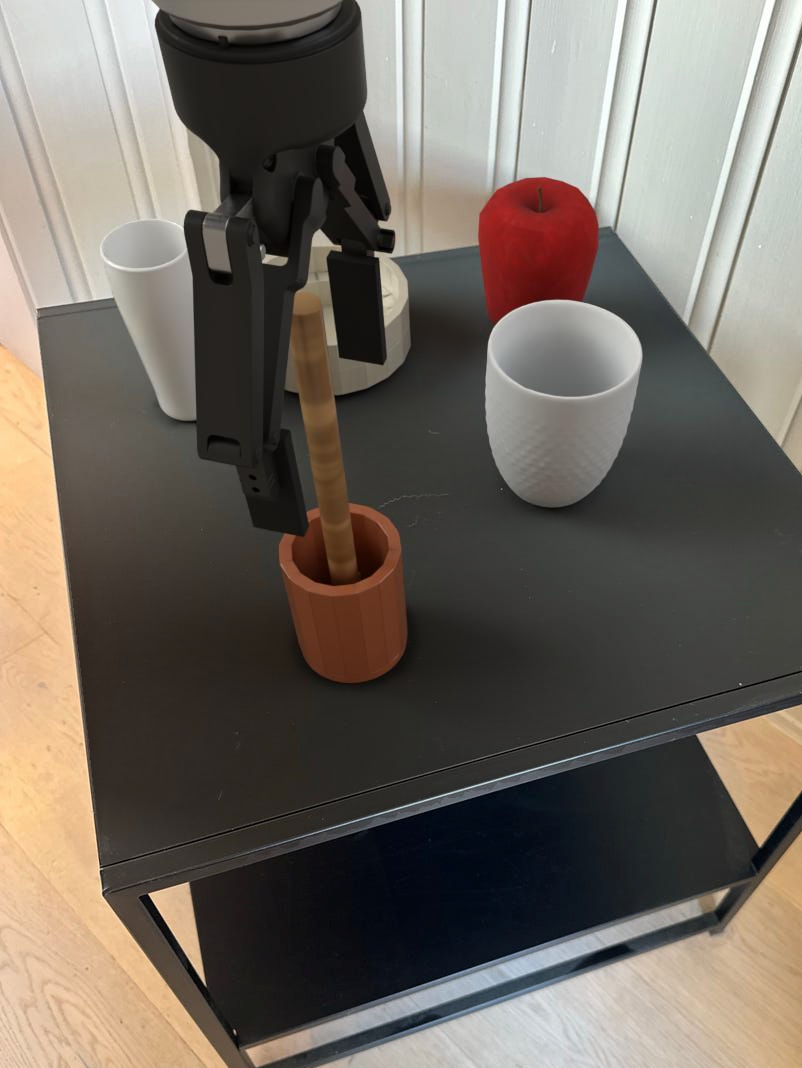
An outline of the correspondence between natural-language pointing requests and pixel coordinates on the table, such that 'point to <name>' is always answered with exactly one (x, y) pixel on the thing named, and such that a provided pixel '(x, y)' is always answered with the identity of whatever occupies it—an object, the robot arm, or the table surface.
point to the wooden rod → (323, 435)
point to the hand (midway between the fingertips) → (325, 436)
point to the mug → (559, 397)
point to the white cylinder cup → (156, 305)
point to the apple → (536, 244)
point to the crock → (348, 599)
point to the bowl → (343, 371)
